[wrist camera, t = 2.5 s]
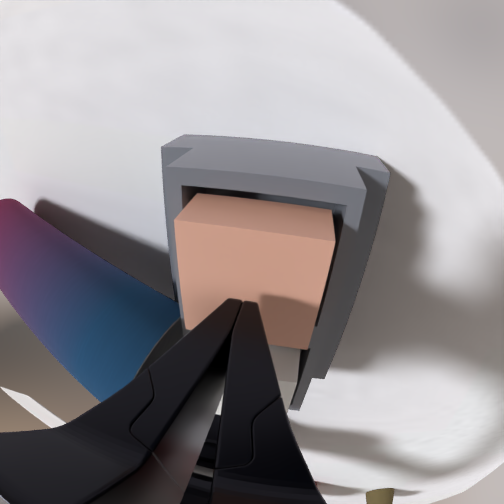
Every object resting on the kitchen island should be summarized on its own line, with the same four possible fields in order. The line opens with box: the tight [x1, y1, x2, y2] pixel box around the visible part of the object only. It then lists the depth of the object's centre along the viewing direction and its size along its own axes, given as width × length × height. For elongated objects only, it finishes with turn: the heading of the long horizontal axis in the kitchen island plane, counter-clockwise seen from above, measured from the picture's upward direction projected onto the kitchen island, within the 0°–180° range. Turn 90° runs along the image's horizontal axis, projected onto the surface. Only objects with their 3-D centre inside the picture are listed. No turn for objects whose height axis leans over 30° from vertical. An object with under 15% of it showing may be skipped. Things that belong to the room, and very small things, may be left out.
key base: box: [161, 135, 390, 411], centre depth 14 cm, size 13×9×5 cm
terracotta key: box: [174, 193, 335, 350], centre depth 10 cm, size 4×4×2 cm
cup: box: [0, 199, 184, 402], centre depth 15 cm, size 7×7×15 cm
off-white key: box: [216, 344, 300, 415], centre depth 14 cm, size 4×4×2 cm
